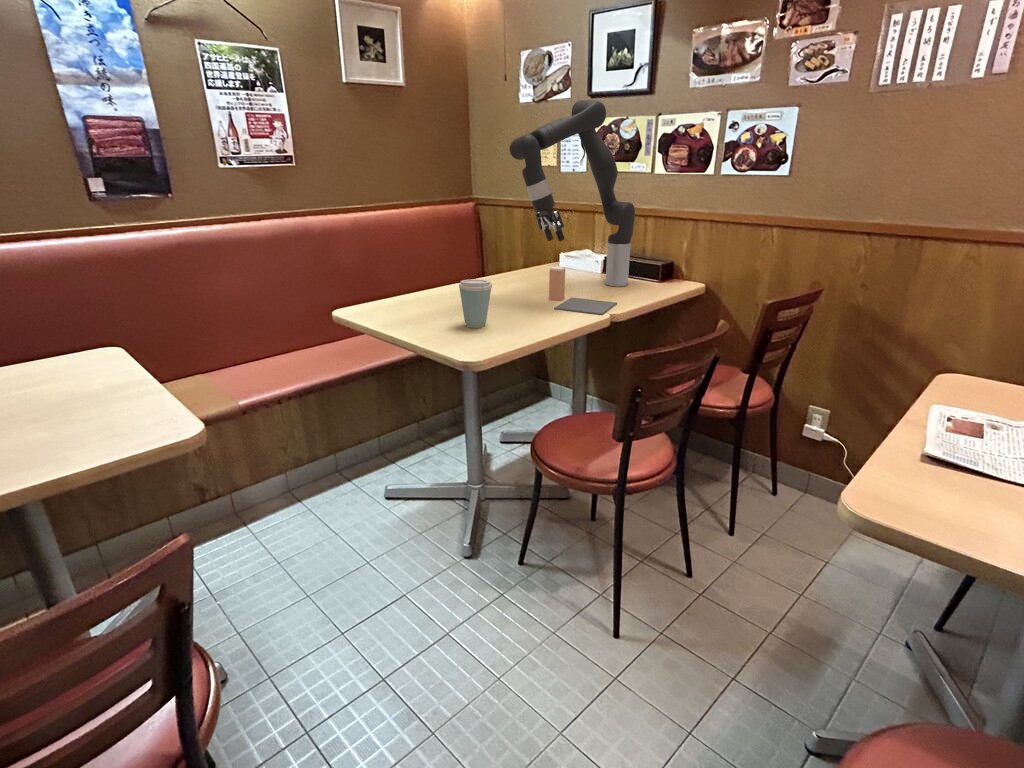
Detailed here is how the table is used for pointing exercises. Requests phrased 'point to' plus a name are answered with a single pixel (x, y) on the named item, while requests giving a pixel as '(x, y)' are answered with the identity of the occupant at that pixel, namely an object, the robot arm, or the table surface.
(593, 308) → the charcoal mat
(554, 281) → the terracotta block
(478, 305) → the disposable coffee cup
